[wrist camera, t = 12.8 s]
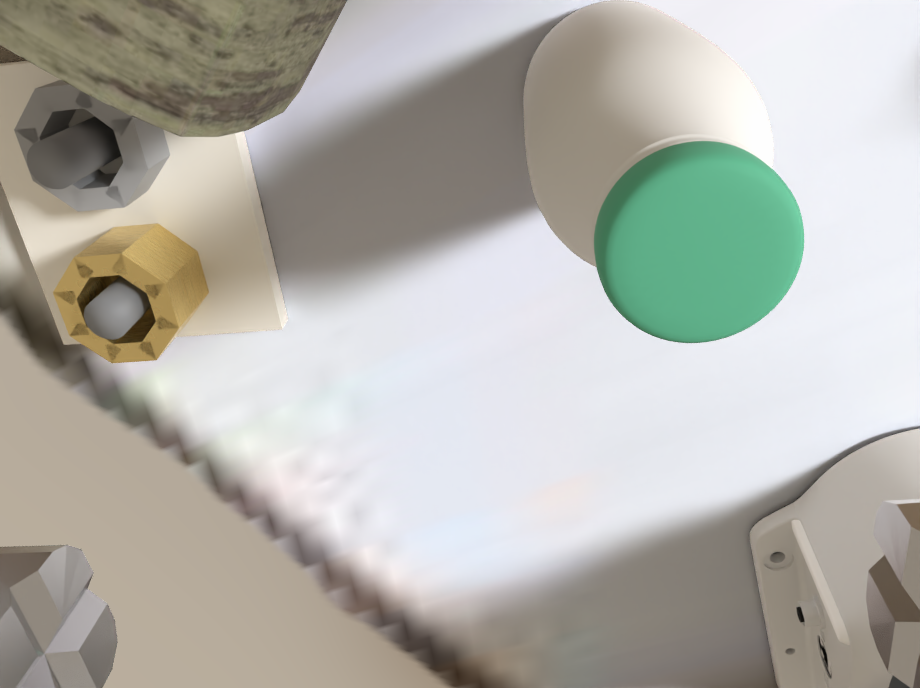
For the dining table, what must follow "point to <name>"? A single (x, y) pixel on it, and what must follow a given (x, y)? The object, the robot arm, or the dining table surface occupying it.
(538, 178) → the milk bottle
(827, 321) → the dining table surface
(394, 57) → the dining table surface
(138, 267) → the brass gear
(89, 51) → the tabletop clock
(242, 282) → the gear board
